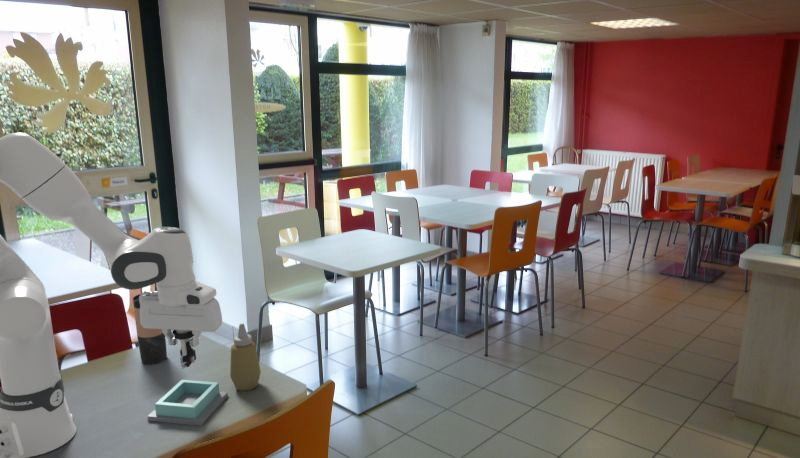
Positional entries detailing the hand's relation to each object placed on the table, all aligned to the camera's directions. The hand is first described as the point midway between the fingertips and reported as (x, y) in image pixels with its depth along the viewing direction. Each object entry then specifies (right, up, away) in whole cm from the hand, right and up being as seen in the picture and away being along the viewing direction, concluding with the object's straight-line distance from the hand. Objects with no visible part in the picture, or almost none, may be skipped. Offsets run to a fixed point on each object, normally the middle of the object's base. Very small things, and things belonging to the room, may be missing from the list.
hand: (183, 345), depth 143 cm
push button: (0, -5, +1) cm, 6 cm away
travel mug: (-21, -11, +31) cm, 39 cm away
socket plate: (0, -17, +4) cm, 17 cm away
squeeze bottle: (+12, -14, +15) cm, 24 cm away
